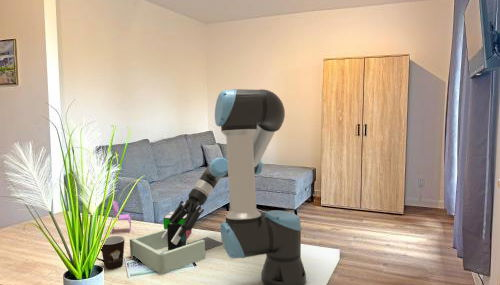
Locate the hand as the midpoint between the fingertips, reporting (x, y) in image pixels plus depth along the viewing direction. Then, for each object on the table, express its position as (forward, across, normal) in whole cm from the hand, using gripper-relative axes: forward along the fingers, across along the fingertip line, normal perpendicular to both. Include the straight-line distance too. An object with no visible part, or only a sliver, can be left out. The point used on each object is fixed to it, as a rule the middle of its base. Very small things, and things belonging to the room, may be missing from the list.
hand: (168, 241), depth 147 cm
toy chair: (+4, +42, -5) cm, 42 cm away
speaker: (0, 0, -5) cm, 5 cm away
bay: (+5, 0, -4) cm, 6 cm away
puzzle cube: (-6, +17, -16) cm, 24 cm away
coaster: (-8, 0, -17) cm, 19 cm away
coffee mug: (+19, +9, +10) cm, 23 cm away
